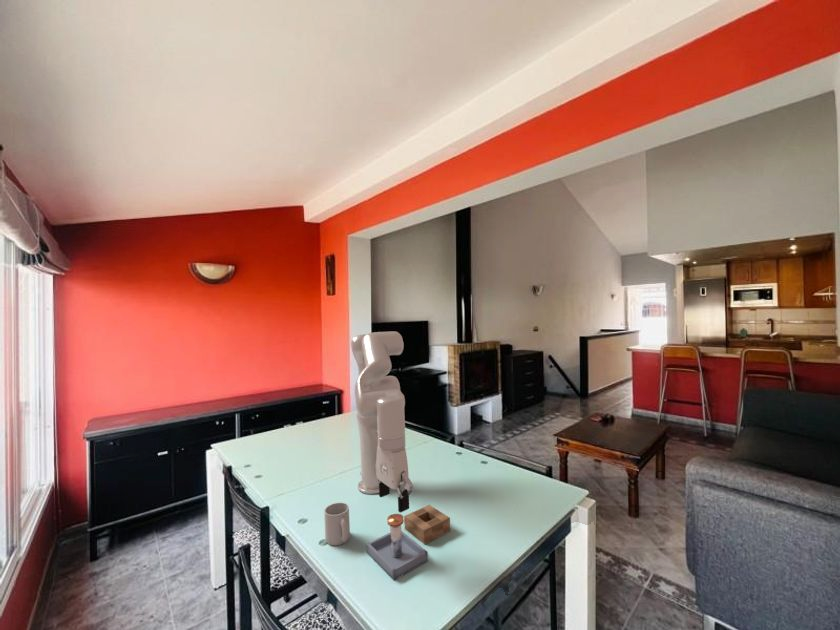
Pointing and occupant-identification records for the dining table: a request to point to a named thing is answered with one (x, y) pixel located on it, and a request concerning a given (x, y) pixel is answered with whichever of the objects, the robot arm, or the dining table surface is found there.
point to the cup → (337, 523)
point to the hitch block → (427, 524)
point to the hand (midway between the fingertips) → (393, 502)
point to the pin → (396, 534)
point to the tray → (396, 566)
